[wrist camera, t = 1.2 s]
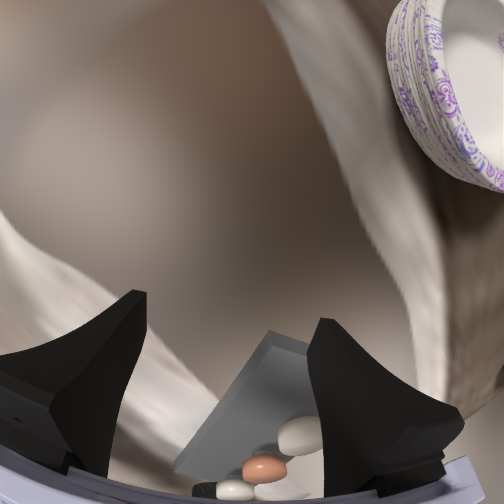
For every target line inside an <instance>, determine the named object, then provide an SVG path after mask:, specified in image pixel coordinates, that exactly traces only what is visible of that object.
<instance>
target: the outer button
mask: <svg viewBox="0 0 504 504" xmlns="http://www.w3.org/2000/svg"><path fill="white" fill-rule="evenodd" d="M277 438H278V444H279V449H280V451H281V452H282V453H283V454H285V455H288V456H302V455H307V454H311V453H314V452H316V451H318V450H320V449H322V448H323V442H322V432H321V424H320V418H319V417H314V416H311V415H309V414H297V415H294V416H292V417H290V418H289V419H288V420H287V422H286V423H285V424H284V425H282V426H281V427H280V428H279V429H278V431H277Z"/></svg>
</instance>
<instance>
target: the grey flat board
mask: <svg viewBox="0 0 504 504" xmlns="http://www.w3.org/2000/svg"><path fill="white" fill-rule="evenodd" d="M309 345H310V344H307V343H305V342H302V341H299V340H296V339H293V338H290V337H287V336H284V335H281V334H278V333H275V332H273V331H270V330H268V332H267V333H266V335H265V337H264V338H263V340H262V341H261V343H260V344H259V346H258V347H257V349H256V350H255V352H254V353H253V355H252V356H251V357H250V359H249V360H248V362H247V363H246V365H245V366H244V368H243V369H242V370H241V372H240V373H239V375H238V376H237V378H236V379H235V381H234V382H233V383H232V385H231V386H230V388H229V389H228V391H227V392H226V393H225V395H224V396H223V397H222V399H221V400H220V402H219V403H218V404H217V406H216V407H215V408H214V410H213V411H212V413H211V414H210V415H209V417H208V418H207V419H206V421H205V422H204V423H203V425H202V426H201V427H200V429H199V430H198V431H197V433H196V434H195V435H194V437H193V438H192V439H191V441H190V442H189V443H188V445H187V446H186V447H185V448H184V450H183V451H182V452H181V454H180V455H179V456H178V457H177V459H176V460H175V462H174V473H176V474H181V475H185V476H189V477H194V478H199V479H204V480H210V481H215V482H221V481H224V478H225V477H226V476H229V475H241V476H243V472H242V463H243V462H244V461H245V460H246V459H248V458H250V457H251V455H252V454H253V453H254V452H257V451H261V450H268V451H272V452H273V453H274V455H279V456H281V457H283V458H284V459H285V463H287V462H289V461H290V460H291V459H292V458H294V457H295V456H288V455H285V454H283V453H282V452H281V451H280V449H279V444H278V438H277V431H278V429H279V428H280V427H281V426H282V425H284V424H285V423H286V422H287V420H288V419H289V418H290V417H292V416H294V415H297V414H309V415H311V416H314V417H319V413H318V409H317V405H316V401H315V398H314V394H313V390H312V386H311V382H310V378H309V373H308V365H307V354H306V353H307V350H308V348H309ZM253 484H254V487H255V486H256V485H258V484H255V483H253Z"/></svg>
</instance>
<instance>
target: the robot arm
mask: <svg viewBox="0 0 504 504" xmlns="http://www.w3.org/2000/svg"><path fill="white" fill-rule="evenodd" d="M146 295H147V293H146V292H143V291H138V290H132V291H130V292H128V293H127V294H126V295H124V296H123V297H122V298H120V299H119V300H118V301H117V302H115V303H114V304H113V305H111V306H110V307H109V308H107V309H106V310H105V311H103V312H102V313H101V314H99V315H98V316H96V317H95V318H93V319H92V320H90V321H89V322H87V323H86V324H84V325H82V326H81V327H79V328H77V329H75V330H73V331H72V332H70V333H68V334H66V335H64V336H62V337H59V338H57V339H55V340H52V341H50V342H47V343H45V344H42V345H40V346H37V347H34V348H30V349H27V350H23V351H20V352H15V353H10V354H5V355H0V504H476V503H478V502H480V501H481V500H483V499H484V497H485V495H484V493H483V490H482V488H481V486H480V484H479V481H478V479H477V477H476V474H475V472H474V470H473V467H472V465H471V463H470V461H469V459H468V457H467V456H466V455H465V456H463V457H460V458H458V459H455V460H452V461H450V462H448V463H446V464H444V465H443V464H442V461H441V460H442V459H443V458H444V457H445V455H444V453H443V451H442V450H443V449H444V448H446V447H447V446H448V445H449V443H451V442H452V441H453V440H454V439H455V438H456V437H457V436H458V435H459V434H460V432H461V431H462V429H463V428H464V424H465V422H464V420H463V418H462V416H461V414H460V413H459V411H458V409H457V408H456V407H454V406H451V405H449V404H446V403H443V402H441V401H438V400H436V399H434V398H432V397H430V396H428V395H425V394H423V393H422V392H420V391H418V390H416V389H414V388H413V387H411V386H410V385H408V384H406V383H405V382H403V381H402V380H400V379H399V378H397V377H396V376H395V375H393V374H392V373H391V372H389V371H388V370H387V369H385V368H384V367H383V366H382V365H381V364H380V363H378V362H377V361H376V360H375V359H374V358H373V357H371V356H370V355H369V354H368V353H367V352H366V351H365V350H364V349H363V348H362V347H361V346H360V345H359V344H358V343H357V342H356V341H355V340H354V339H353V338H352V337H351V336H350V335H349V334H348V333H347V331H346V330H344V328H343V327H341V326H340V325H339V323H337V322H336V321H335V320H334V319H328V318H320V321H319V323H318V326H317V328H316V331H315V333H314V336H313V339H312V341H311V343H310V345H309V348H308V350H307V353H306V354H307V365H308V373H309V378H310V382H311V386H312V390H313V394H314V398H315V401H316V405H317V409H318V413H319V418H320V424H321V432H322V442H323V456H324V498H317V499H305V500H290V501H234V500H219V499H208V498H199V497H191V496H183V495H177V494H171V493H165V492H160V491H155V490H150V489H145V488H141V487H137V486H132V485H128V484H125V483H121V482H117V481H114V480H110V479H107V476H108V468H109V460H110V453H111V447H112V441H113V436H114V431H115V426H116V422H117V417H118V413H119V409H120V405H121V401H122V398H123V395H124V392H125V390H126V387H127V385H128V382H129V380H130V377H131V375H132V372H133V370H134V367H135V365H136V363H137V360H138V358H139V355H140V353H141V350H142V347H143V343H144V339H145V336H146V332H147V318H146V317H147V316H146V315H147V310H146V307H147V305H146V304H147V302H146V301H147V300H146V299H147V297H146Z"/></svg>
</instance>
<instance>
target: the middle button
mask: <svg viewBox="0 0 504 504" xmlns="http://www.w3.org/2000/svg"><path fill="white" fill-rule="evenodd" d="M242 472H243V479H244V480H245V481H247V482H250V483H255V484H265V483H272V482H276V481H278V480H281V479H283V478H284V477H285V476H286V475H287V469H286V463H285V459H284V458H283V457H281V456H279V455H274V453H273V452H272V451H268V450H261V451H257V452H254V453H253V454H252V455H251V457H250V458H248V459H246V460H245V461H244V462H243V463H242Z"/></svg>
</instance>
